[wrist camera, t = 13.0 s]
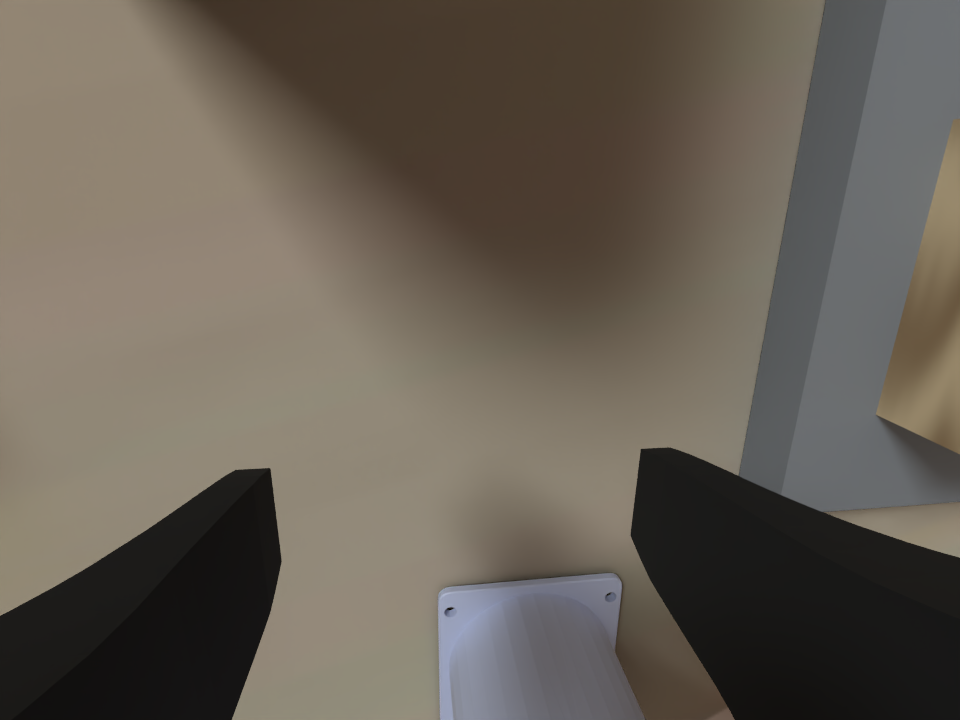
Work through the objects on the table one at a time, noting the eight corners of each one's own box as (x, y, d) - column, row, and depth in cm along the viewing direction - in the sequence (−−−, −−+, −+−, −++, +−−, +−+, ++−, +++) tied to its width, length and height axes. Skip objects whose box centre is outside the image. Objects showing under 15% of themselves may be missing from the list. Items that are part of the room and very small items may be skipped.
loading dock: (978, 465, 24) (1043, 496, 22) (737, 481, 23) (778, 516, 20) (1131, 16, 19) (1241, -11, 16) (826, -5, 17) (897, -38, 15)
